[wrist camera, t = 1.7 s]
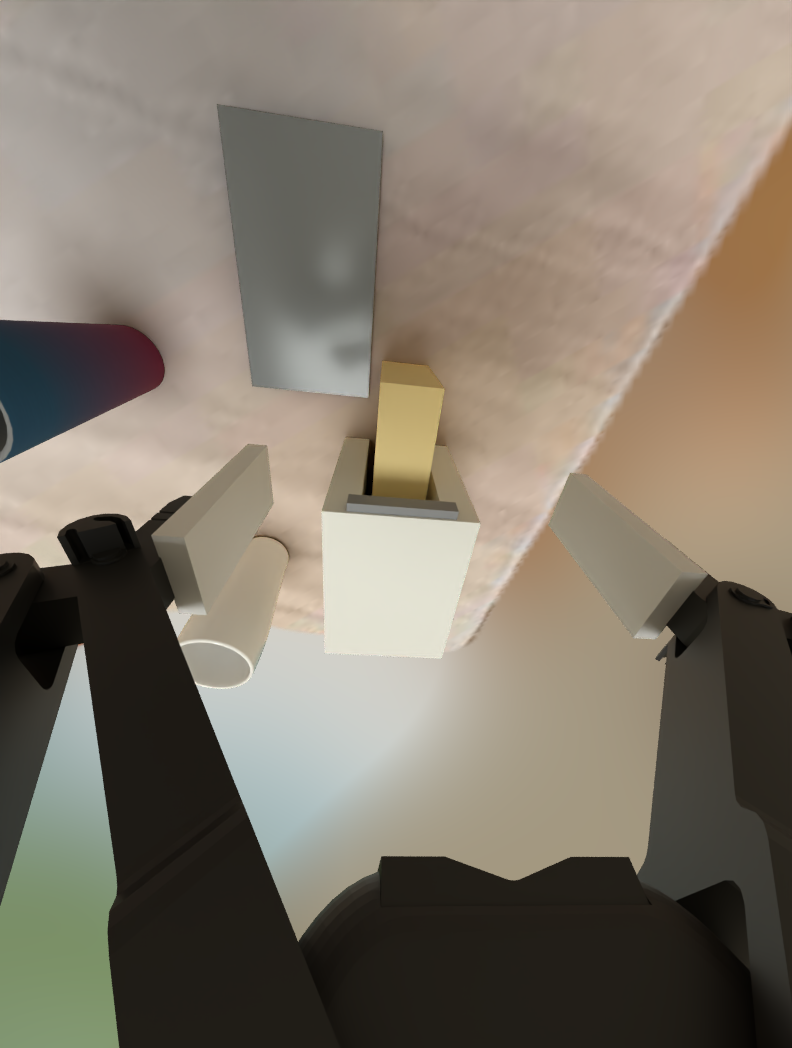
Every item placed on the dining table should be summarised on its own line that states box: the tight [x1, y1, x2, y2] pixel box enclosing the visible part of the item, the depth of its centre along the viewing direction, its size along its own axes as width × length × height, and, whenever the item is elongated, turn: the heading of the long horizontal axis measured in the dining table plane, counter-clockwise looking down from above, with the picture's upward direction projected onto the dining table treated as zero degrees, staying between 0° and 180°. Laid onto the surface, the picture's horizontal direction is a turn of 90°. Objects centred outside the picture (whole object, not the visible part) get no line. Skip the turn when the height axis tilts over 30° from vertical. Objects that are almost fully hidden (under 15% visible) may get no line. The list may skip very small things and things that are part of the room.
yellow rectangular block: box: [372, 361, 445, 500], centre depth 28 cm, size 14×4×10 cm, turn 174°
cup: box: [0, 320, 164, 463], centre depth 22 cm, size 7×7×15 cm
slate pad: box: [217, 104, 383, 398], centre depth 25 cm, size 16×10×1 cm, turn 174°
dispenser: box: [322, 437, 481, 658], centre depth 30 cm, size 15×10×14 cm
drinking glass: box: [177, 537, 289, 689], centre depth 33 cm, size 7×7×15 cm
